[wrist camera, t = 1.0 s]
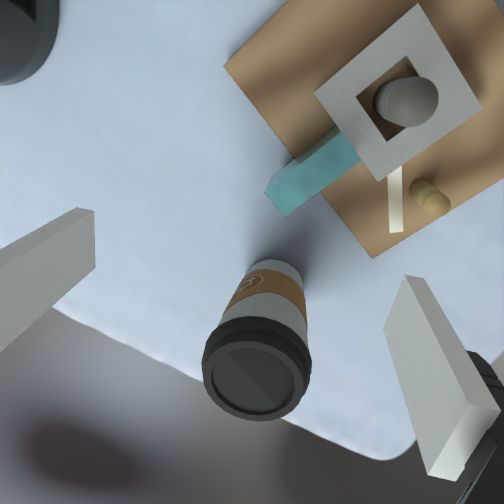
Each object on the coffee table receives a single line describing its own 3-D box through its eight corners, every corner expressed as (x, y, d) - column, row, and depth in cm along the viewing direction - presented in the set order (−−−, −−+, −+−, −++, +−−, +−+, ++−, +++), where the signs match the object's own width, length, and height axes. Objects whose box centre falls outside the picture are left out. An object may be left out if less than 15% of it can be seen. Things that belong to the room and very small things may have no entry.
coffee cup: (280, 233, 38) (261, 313, 24) (328, 292, 39) (335, 399, 26) (220, 275, 41) (172, 367, 27) (267, 328, 42) (244, 441, 29)
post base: (226, 67, 32) (198, 59, 25) (415, -122, 26) (459, -214, 18) (370, 254, 37) (385, 296, 29) (562, 134, 30) (646, 149, 23)
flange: (249, 147, 33) (236, 158, 28) (412, 7, 27) (437, -14, 22) (310, 223, 35) (309, 248, 30) (475, 107, 29) (511, 111, 24)
